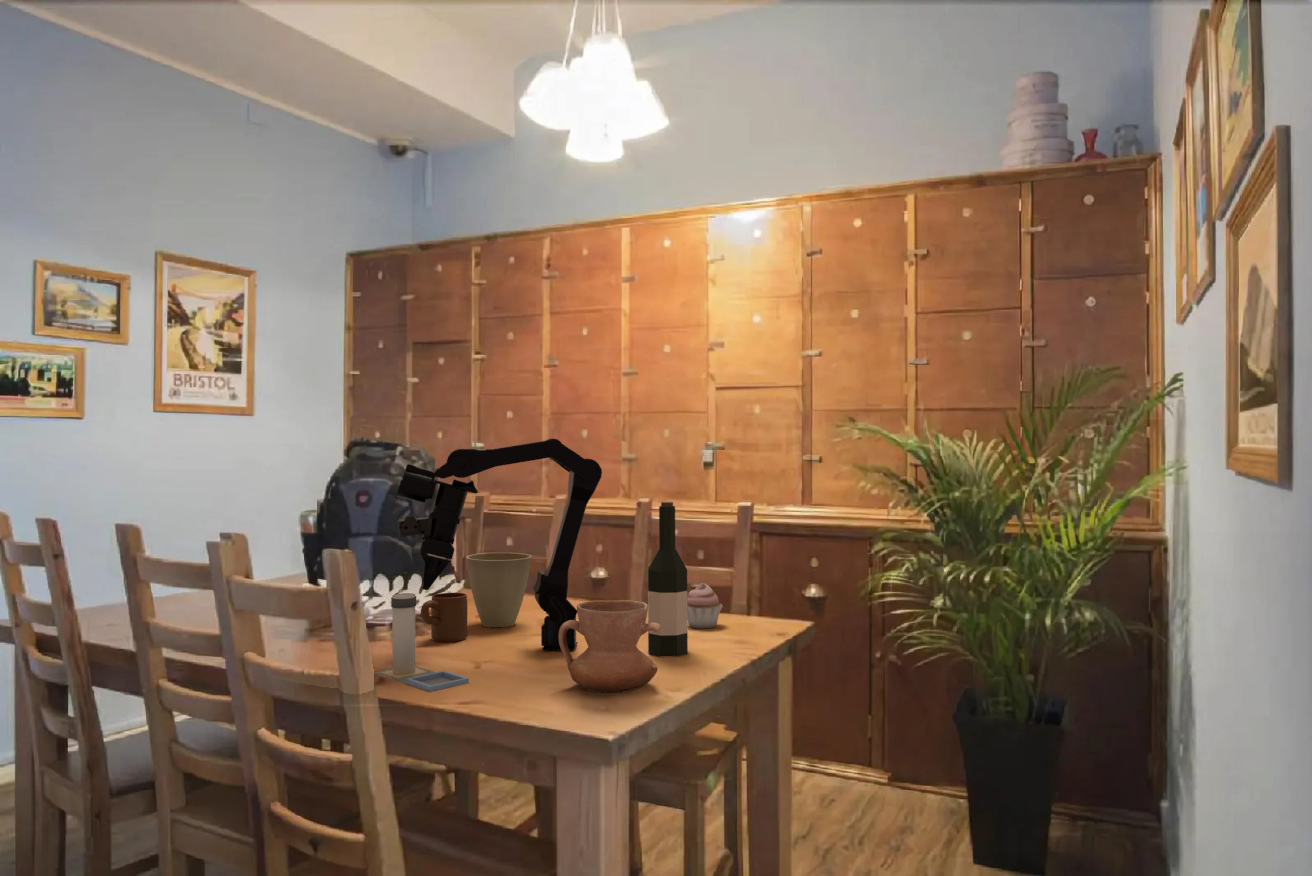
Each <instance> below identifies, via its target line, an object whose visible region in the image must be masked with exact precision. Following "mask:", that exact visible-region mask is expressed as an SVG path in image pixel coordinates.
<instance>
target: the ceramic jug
mask: <svg viewBox="0 0 1312 876" xmlns="http://www.w3.org/2000/svg"><path fill="white" fill-rule="evenodd" d="M576 610H577V619H578V620H577V619H576V620H569V621H567V622H565V623H563V624H562V626H561V627H560V630H559V644H560V648H561V650H560V651H561V652H562V654H563V656H564V658H565V660H566V663H567V664H566V665H567V667H568V668H567V669H568V671H569V675H570V678H571V679H572V681H573V682H575V683H576V684H577V685H579V686H580V687H581V688H584V689H585V690H588V691H591V692H592V691H593V692H597V693H604V694H617V693H619V694H620V693H626V692H631V691H634V690H637V689H640V688H642V687H644V686H645V685H647V684H648V683H650V682H651V680H652V679H653V678H654V677H655V675H656V674H657V672H658V669H659V667H658V666H657V665H656V664H655V663H654V661H653V659H651V657H649V656H648V655H647V654H645V653H644V652H642V650H641V649H639V648H638V647H637V645H638V642H639V640H640V638H641V637H642V636H643V635H644V634H646V633H648V631H655V632H657V633H658V630H659V629H660V628H661V626H660V625H659V624H657V623H653V622H652V623H648V622H647V619H648V603H646V602H643V601H635V600H629V599H620V600H605V599H604V600H591V601H590V600H587V601H583V602H579V603H577V605H576ZM646 622H647V623H646ZM570 628H571V629H575V630H576V632H578V633H579V634H580V635H582V636H583V637H584V639H585V641H586V643H587V647H586V649H585V651H583V652H582V653H581V654H579V655H578V656H577V657H576V658H575V659H574V658H573V656H572V654H571V652H570V651H571V650H569V648H568V645H567V640H566V636H567V635H566V633H567V631H568V629H570Z"/></svg>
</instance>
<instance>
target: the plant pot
mask: <svg viewBox="0 0 1312 876" xmlns="http://www.w3.org/2000/svg"><path fill="white" fill-rule="evenodd" d="M531 562H532V555H531V554H529V553H528V554H527V553H519V552H483V553H475V554H470V555H469V554H468V555H467V556H466V565H467V572H468V580H469V584H470V590H471V593H472V598H473V600H474V601H473V602H474V605H475V608H476V612H477V614H478V617H479V620H480V623H481V624H482V626H483V627H485V628H490V627H503V628H508V627H507V626H510V627H513V626H514V625H515V623H516V621H517V618H518V616H519V613H520V609H521V607H522V603H523V600H524V596H525V593H526V589H527V584H528V582H529V581H528V579H529V575H530V570H531Z"/></svg>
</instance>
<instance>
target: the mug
mask: <svg viewBox="0 0 1312 876" xmlns="http://www.w3.org/2000/svg"><path fill="white" fill-rule="evenodd" d="M429 611H430V612H429ZM430 613H431V614H430ZM420 615H421V616H420V617H421V619H422V621H423V622H424V623H425V624H427V625H431V626H430V627H431V628H430V629H431V633H430V634H431V639H432V640H433V641H435V642H437V641H439V643H440V642H441V643H451V642H452V643H455V642H461V641H463V639H464V640H465V639H466V638H467V636H468V595H467V594H466V593H463V592H443V593H442V592H441V593H435V594H433V595H432V596H431V600H430V599H429V600H427V601H425V602H424V603H423V604H422V605H421V609H420ZM460 640H461V641H460ZM454 641H455V642H454Z"/></svg>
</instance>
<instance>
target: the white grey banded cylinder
mask: <svg viewBox="0 0 1312 876" xmlns="http://www.w3.org/2000/svg"><path fill="white" fill-rule="evenodd" d="M390 601H391V602H390V604H391V605H390V606H391V608H392V609H391V610H392V611H391V613H392V617H391V618H392V619H391V620H392V622H391V623H392V626H391V627H392V631H391V632H392V634H391V635H392V639H391V640H392V644H391V645H392V669H393V674H396V675H406V674H412V673H414V672H415V666H416V607H417V595H416V594H415V593H410V592H405V593H404V592H403V593H394V594H392V596H391V598H390Z"/></svg>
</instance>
